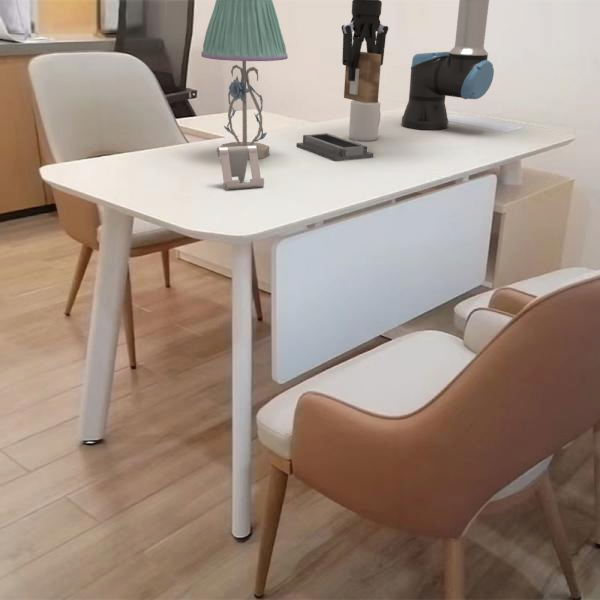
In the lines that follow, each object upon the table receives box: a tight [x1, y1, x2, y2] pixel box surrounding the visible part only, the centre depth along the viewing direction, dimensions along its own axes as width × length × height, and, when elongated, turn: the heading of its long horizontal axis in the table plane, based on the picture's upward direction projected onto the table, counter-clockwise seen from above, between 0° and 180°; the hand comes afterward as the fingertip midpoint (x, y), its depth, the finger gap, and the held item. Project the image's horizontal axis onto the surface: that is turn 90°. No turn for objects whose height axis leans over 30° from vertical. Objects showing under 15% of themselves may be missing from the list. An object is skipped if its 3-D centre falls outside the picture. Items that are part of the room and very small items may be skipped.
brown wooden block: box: [343, 51, 382, 103], centre depth 194 cm, size 4×10×12 cm, turn 31°
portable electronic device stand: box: [216, 145, 265, 191], centre depth 163 cm, size 9×8×8 cm
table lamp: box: [200, 0, 289, 161], centre depth 186 cm, size 22×22×40 cm
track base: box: [296, 132, 374, 162], centre depth 200 cm, size 12×20×3 cm, turn 30°
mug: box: [348, 100, 381, 142], centre depth 218 cm, size 9×12×11 cm
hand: (360, 93), depth 196 cm, fingers closed on brown wooden block, 4 cm apart
